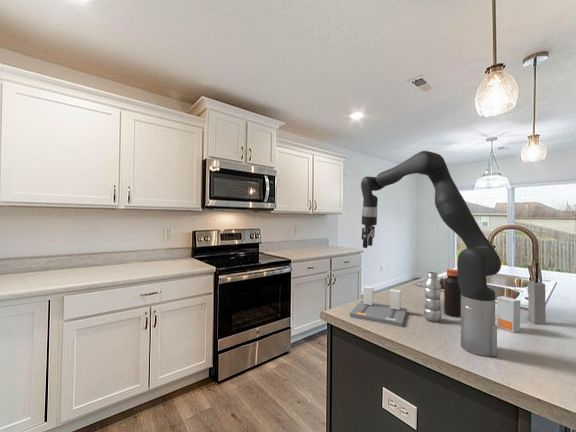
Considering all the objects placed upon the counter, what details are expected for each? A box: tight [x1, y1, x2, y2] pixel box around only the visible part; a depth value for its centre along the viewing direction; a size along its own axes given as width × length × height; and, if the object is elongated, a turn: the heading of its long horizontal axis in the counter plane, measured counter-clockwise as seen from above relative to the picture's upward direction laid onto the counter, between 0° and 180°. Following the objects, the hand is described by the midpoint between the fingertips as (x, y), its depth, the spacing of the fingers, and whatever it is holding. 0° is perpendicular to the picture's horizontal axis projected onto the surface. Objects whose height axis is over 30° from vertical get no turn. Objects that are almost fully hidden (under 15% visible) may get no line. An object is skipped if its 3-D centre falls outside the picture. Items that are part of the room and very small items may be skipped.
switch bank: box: [349, 300, 408, 328], centre depth 117 cm, size 21×20×2 cm
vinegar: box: [443, 268, 461, 318], centre depth 117 cm, size 7×7×20 cm
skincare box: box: [496, 295, 521, 334], centre depth 103 cm, size 6×4×12 cm
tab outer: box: [362, 285, 374, 305], centre depth 126 cm, size 4×3×8 cm
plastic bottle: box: [423, 271, 443, 322], centre depth 111 cm, size 6×7×20 cm
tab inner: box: [389, 288, 401, 310], centre depth 120 cm, size 4×3×8 cm
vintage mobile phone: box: [526, 262, 546, 326], centre depth 110 cm, size 4×5×25 cm
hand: (367, 246), depth 136 cm, fingers open, 8 cm apart
